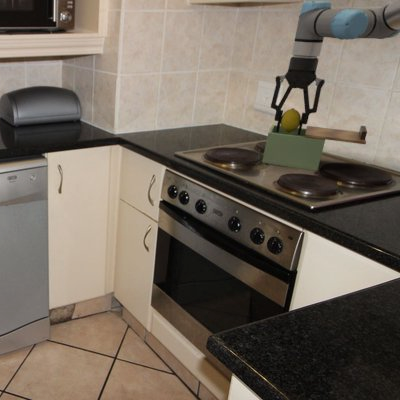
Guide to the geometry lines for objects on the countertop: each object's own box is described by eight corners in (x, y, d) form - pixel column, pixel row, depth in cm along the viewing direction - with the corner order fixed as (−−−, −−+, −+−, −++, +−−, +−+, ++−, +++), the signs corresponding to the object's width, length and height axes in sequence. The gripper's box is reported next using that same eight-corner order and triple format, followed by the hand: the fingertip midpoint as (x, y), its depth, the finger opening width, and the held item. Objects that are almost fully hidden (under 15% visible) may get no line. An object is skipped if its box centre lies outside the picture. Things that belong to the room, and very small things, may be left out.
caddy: (318, 160, 156) (325, 131, 152) (317, 171, 145) (325, 140, 142) (266, 152, 162) (272, 124, 159) (262, 162, 152) (268, 132, 149)
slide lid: (362, 134, 147) (365, 124, 146) (365, 144, 137) (368, 133, 136) (306, 128, 154) (308, 118, 153) (304, 136, 144) (307, 126, 143)
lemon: (297, 136, 148) (302, 110, 145) (277, 134, 151) (282, 108, 148) (298, 132, 152) (303, 107, 149) (279, 130, 155) (284, 106, 152)
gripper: (340, 57, 141) (321, 134, 150) (272, 53, 150) (258, 126, 159) (340, 60, 135) (320, 139, 144) (270, 55, 144) (255, 131, 153)
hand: (288, 132), depth 151 cm, fingers closed on lemon, 5 cm apart
